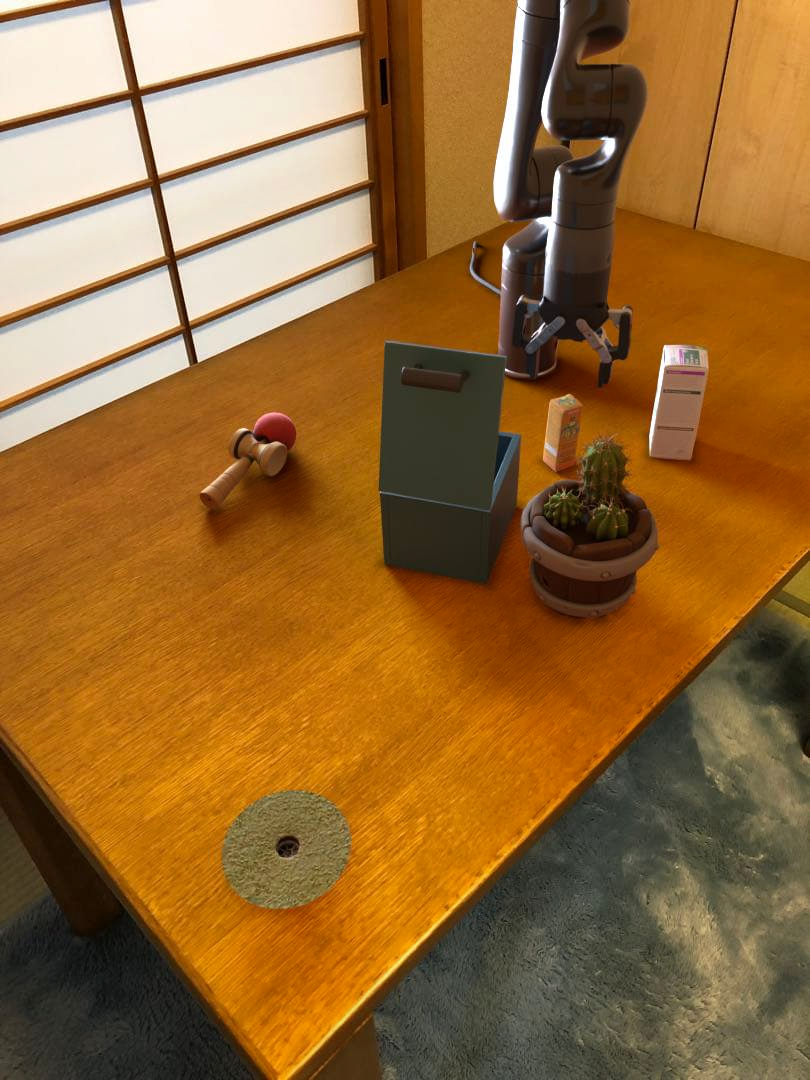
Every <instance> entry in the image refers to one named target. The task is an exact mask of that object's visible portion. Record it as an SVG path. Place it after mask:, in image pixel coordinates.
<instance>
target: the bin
mask: <svg viewBox="0 0 810 1080" xmlns="http://www.w3.org/2000/svg"><path fill="white" fill-rule="evenodd" d="M521 447H522V434H521V433H513V432H506V431H500V430H499V436H498V446H497V455H496V465H495V474H494V484H493V493H492V503H491V509H490V510H483V509H478V508H472V507H466V506H461V505H455V504H449V503H444V502H438V501H433V500H427V499H421V498H416V497H410V496H404V495H399V494H393V493H387V492H382V491H379V501H380V502H379V503H380V517H381V533H382V549H383V563H384V565H387V566H391V567H396V568H400V569H405V570H412V571H417V572H421V573H427V574H432V575H435V576H436V575H437V576H442V577H446V578H451V579H455V580H456V579H457V580H461V581H466V582H472V583H477V584H482V585H486V586H487V585H488V583H489V580H490V578H491V575H492V572H493V569H494V567H495V564H496V562H497V559H498V557H499V555H500V551H501V548H502V545H503V543H504V540H505V538H506V534H507V532H508V529H509V527H510V524H511V521H512V519H513V516H514V513H515V510H516V508H517V505H518V493H519V479H520V478H519V477H520V463H521V462H520V461H521V449H522V448H521Z"/></svg>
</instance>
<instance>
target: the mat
mask: <svg viewBox="0 0 810 1080" xmlns="http://www.w3.org/2000/svg"><path fill="white" fill-rule="evenodd" d="M236 816H237V817H236V818H234V820H233V821H232V822H231V824H230V826H229V827H228V829H227V832H226V834H225V836H224V839H223V843H222V848H221V859H220V861H221V864H222V871H223V873H224V876H225V878H226V881H227V882H228V883H229V885H230V887H231V889H232V890H233V891H234V892H235V893H236V894H237V895H238V896H239V897H240V898H241V899H243V900H244V901H245V902H247V903H250V904H251V905H254V906H257V907H260V908H261V907H262V908H263V909H273V910H277V909H278V910H280V909H281V910H283V909H292V908H298V907H302V906H303V905H307V904H309V903H311V902H313V901H315V900H317V899H319V898H320V897H321V896H323V895H324V894H325V893H326V892H328V891H329V890H330V889H331V888H333V886H334V885H335V883H336V882H337V881H338V880H339V879H340V878H341V877H342V875H343V873H344V871H345V869H346V867H347V865H348V863H349V859H350V856H351V850H352V834H351V829H350V826H349V823H348V819H346V818H345V816H344V813H342V811H341V809H340V808H339V807H338V806H337V805H336V804H335V803H334V802H332V801H331V800H330V799H327V798H326V797H325V796H322V795H321V794H317V793H316V792H313V791H312V792H311V791H308V790H302V789H299V790H298V789H289V790H281V791H277V792H272V793H270V794H266V795H264V796H261V797H259V798H258V799H255V800H254V802H252V803H250V804H249V805H247V807H245V808H244V809H243V810H242V811H241V812H239V814H238V815H236Z"/></svg>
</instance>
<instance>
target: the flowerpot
mask: <svg viewBox="0 0 810 1080" xmlns="http://www.w3.org/2000/svg"><path fill="white" fill-rule="evenodd" d="M596 433H597V434H598V436H599V438H598V437H596V436H594V437H593V438H592V443H591V442H587V441H586V442H585V444H586V445H585V444H584V443H580V444H581V445H583V448H581V449H580V451H579V452H577V453H578V454H580V452H581V451H582V450H583V451H584V452H585V454H584V453H582V455H576V456H577V457H576V456H575V457H574V458H575V460H578V461H577V463H576V469H579V470H576V472H577V473H575V474H573V476H576V478H575V480H574V479H561V480H558V481H554V482H553V483H552V484H550V485H547V486H546V487H545V488H544V489H542V490H541V492H539V493H537V494H535V496H533V497H532V498H531V499H530V500H529V501H528V503H527V504H526V506H525V507H524V509H522V510H521V512H520V513H521V518H520V538H521V542H522V545H523V546H524V548H525V550H526V552H527V553H528V555H529V556H530V557H531V559H530V561H529V576H530V577H529V578H530V582H531V585H532V588H533V590H534V593H535V594H536V596H537V597H538V598H539V600H540V601H542V602H543V604H544V605H545V606H546V607H548V608H549V609H550V610H551V611H553V612H555V613H556V614H558V615H560V616H563V617H565V616H568V617H569V618H571V619H574V620H584V619H587V618H600V619H601V618H604V617H607V616H608V615H609V614H611V613H614V612H616V611H617V610H619V609H621V608H622V607H623V606H624V605H625V604H626V603H627V602H628V601H629V600H630V598H631V596H632V595H634V594H636V586H637V584H638V583H637V582H638V575H637V572H638V570H640V569H641V568H643V567H644V566H645V565H646V564H648V562H650V561H651V559H652V558H653V556H654V555H655V553H656V552H657V551H658V550H659V549H660V544H658V542H659V529H658V524H657V521H656V517H655V515H654V514H653V512H652V511H651V509H650V508H649V507H648V505H647V503H646V501H645V500H644V499H643V498H642V497H641V496H639V495H638V494H636V493H632V492H631V491H630V490H629V489H630V488H631V487H630V486H629V485H627V484H628V479H629V480H631V477H635V475H634V474H631V473H630V472H631V470H632V469H631V468H632V467H631V465H633V463H632V461H635V458H633V459H632V458H630V457H631V453H630V454H629V457H627V455H628V453H629V452H628V451H630V449H629V448H627V447H625V446H628V443H625V444H623V442H622V441H620V439H621V438H620V437H618V438H617V440H616V437H615V436H618V433H616V434H614V435H612V432H611V430H609V427H607V431H606V435H605V436H603V435H602V434H601V433H600V432H598V431H596ZM611 435H612V436H611ZM595 440H596V441H595ZM618 441H620V442H619V443H618ZM622 450H623V451H622ZM625 450H628V451H627V452H626V454H625ZM630 464H631V465H630ZM579 465H580V466H581V468H579ZM626 465H627V466H629V467H630V469H628V470H627V468H626ZM577 466H578V467H577ZM627 478H628V479H627ZM578 480H580V481H578ZM624 480H625V481H626V482H625V481H624ZM623 481H624V482H625V483H623Z"/></svg>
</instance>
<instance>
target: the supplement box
mask: <svg viewBox="0 0 810 1080" xmlns="http://www.w3.org/2000/svg"><path fill="white" fill-rule="evenodd" d="M583 410H584V405H583V404H582V403H581V401H579V400H578V399H577V398H576V397H574V395H572V394H571V393H568V394H566V395H564V396H561V397H557V398H553V399H550V400H549V406H548V415H547V422H546V423H547V424H546V429H545V430H546V431H545V439H544V447H543V456H542V461H543V462H544V463H545V465H547V466H548V467H549V468H550V469H552V470H553V471H555V473H557V472H560V471H563V470H565V469H568V468H571V467H574V466H575V462H576V459H575V458H576V456H577V450H578V442H579V435H580V430H581V423H582V417H583ZM574 457H575V458H574Z"/></svg>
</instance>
